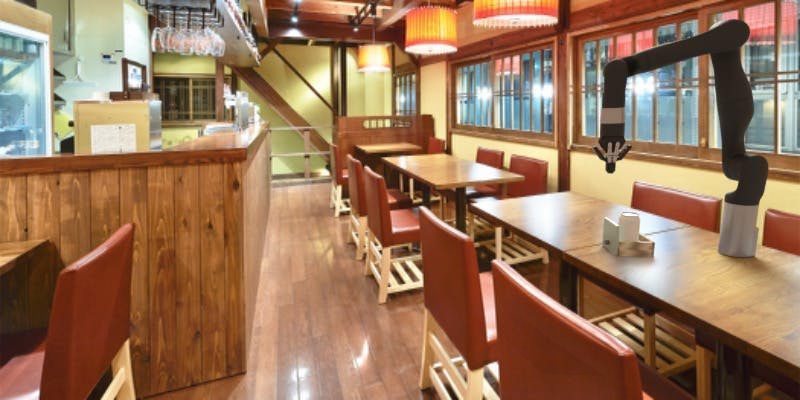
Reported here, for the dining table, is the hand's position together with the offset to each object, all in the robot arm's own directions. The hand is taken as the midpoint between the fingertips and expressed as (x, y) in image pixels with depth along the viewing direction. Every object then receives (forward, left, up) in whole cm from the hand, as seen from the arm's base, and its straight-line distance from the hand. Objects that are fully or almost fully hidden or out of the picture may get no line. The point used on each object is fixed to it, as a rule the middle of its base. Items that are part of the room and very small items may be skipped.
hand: (610, 173), depth 155 cm
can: (-6, +4, -26) cm, 27 cm away
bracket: (-5, +4, -26) cm, 27 cm away
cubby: (-6, +4, -26) cm, 27 cm away
